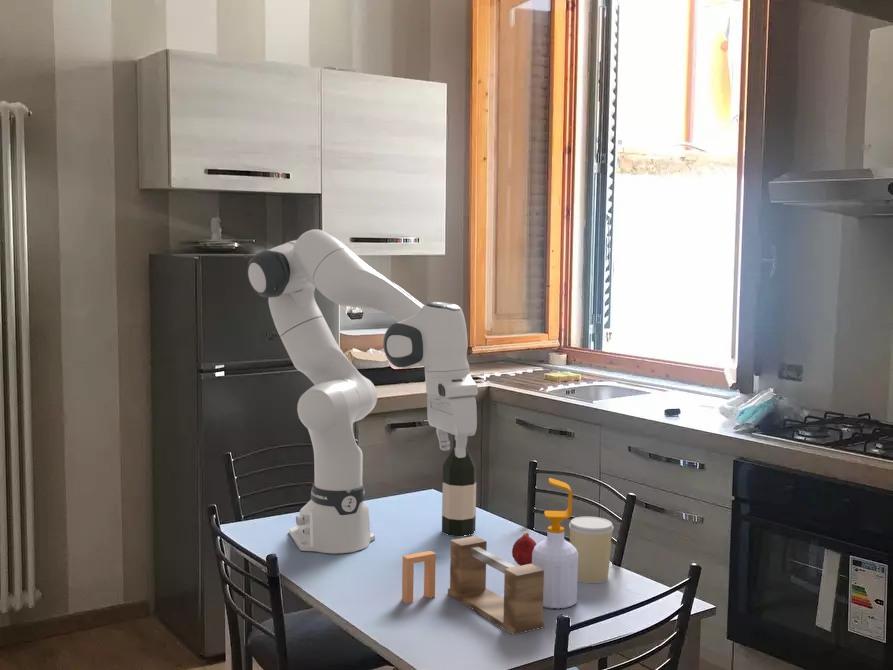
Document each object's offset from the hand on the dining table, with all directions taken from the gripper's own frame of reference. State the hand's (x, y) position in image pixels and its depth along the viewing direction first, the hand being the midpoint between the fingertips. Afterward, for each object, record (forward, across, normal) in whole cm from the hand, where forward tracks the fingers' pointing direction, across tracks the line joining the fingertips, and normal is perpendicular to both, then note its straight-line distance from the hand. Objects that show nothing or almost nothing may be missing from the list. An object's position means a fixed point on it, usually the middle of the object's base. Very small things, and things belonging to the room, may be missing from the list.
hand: (452, 453), depth 187 cm
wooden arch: (+28, -2, -8) cm, 30 cm away
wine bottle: (+27, -41, +14) cm, 51 cm away
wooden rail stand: (+30, +7, +4) cm, 31 cm away
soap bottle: (+31, +6, +17) cm, 36 cm away
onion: (+30, -13, +19) cm, 38 cm away
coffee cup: (+31, -4, +30) cm, 43 cm away
